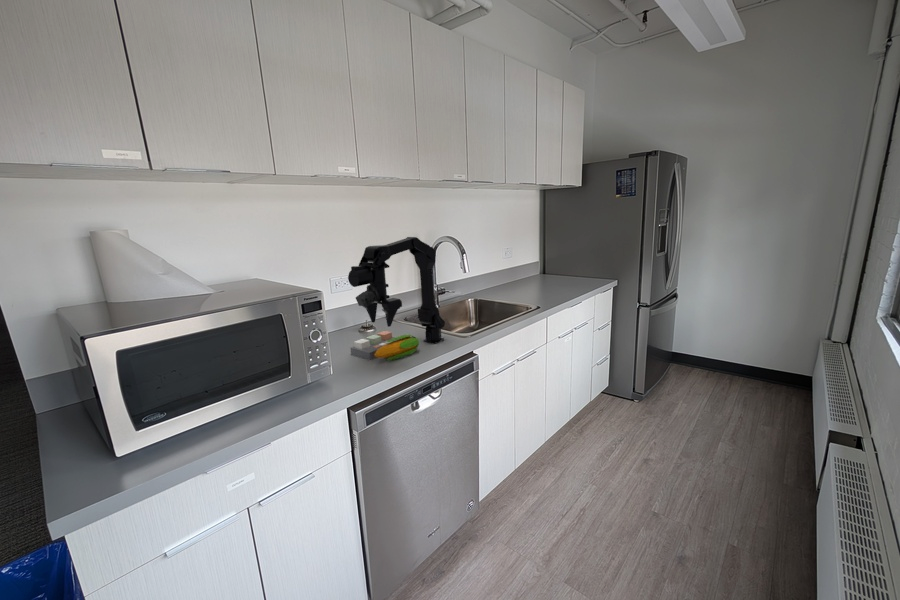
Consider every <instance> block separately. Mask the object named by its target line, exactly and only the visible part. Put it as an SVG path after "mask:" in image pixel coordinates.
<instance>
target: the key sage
mask: <svg viewBox="0 0 900 600" xmlns="http://www.w3.org/2000/svg"><path fill="white" fill-rule="evenodd" d="M365 339H366V340H370V345H376V344H379V343H381V342H382V341H381V336H378V335H377V334H372V335H369V336H367V337H365Z"/></svg>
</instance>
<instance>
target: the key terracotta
mask: <svg viewBox="0 0 900 600" xmlns="http://www.w3.org/2000/svg"><path fill="white" fill-rule="evenodd" d="M392 332H393V331H387V330H383V331H380V332H378V333H376V335H378V336H381V340H382V341H386V340H389V339H392V337H393V333H392Z"/></svg>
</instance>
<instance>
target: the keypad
mask: <svg viewBox="0 0 900 600" xmlns="http://www.w3.org/2000/svg"><path fill="white" fill-rule="evenodd" d="M393 338H396V337H394V336H392V339H393ZM389 340H390V339H389ZM389 340H386V341H382V340H381V341H382V342H381V343H379V344H376V345H370V347H368V348H365V349H363V350H360V349H356V348H355V347H354V346H351V347H350V348H349V349H350V355H351V356H353V357H357V358H360V359H363V360H368V361H372V360H375V359H378V358H377V357H376V356H375V355H374V354H375V352H376V351H377V350H378V349H379V348H381V347H382V346H384V345H386V344H389V343H391V342H393V341H391V342H387V341H389ZM397 340H399V339H397ZM394 341H396V340H394Z"/></svg>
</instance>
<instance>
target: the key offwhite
mask: <svg viewBox="0 0 900 600" xmlns="http://www.w3.org/2000/svg"><path fill="white" fill-rule="evenodd" d="M353 344H354V346H353V347H355V348H356V349H360V350H363V349H365V348H368V347H370V340H366V338H361V339H358V340H355V341H353Z"/></svg>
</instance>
